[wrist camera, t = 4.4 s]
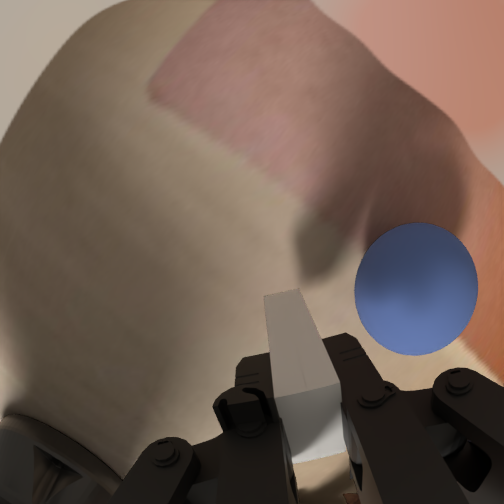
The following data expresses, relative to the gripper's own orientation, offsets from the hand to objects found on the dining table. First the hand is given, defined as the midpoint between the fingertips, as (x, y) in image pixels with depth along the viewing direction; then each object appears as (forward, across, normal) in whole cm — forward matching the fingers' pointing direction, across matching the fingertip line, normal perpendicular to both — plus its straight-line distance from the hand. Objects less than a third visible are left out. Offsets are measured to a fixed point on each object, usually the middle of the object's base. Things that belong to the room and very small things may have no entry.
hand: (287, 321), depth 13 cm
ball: (0, -6, 0) cm, 6 cm away
